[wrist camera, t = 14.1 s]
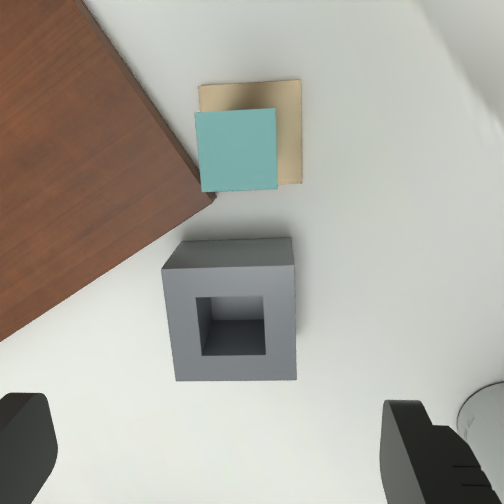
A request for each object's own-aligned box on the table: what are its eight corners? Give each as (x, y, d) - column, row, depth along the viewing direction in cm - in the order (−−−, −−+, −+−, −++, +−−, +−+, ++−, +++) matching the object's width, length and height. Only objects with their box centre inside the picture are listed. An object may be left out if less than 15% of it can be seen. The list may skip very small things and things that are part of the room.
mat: (300, 80, 33) (300, 79, 32) (301, 181, 35) (302, 183, 34) (200, 86, 33) (198, 86, 32) (209, 185, 36) (207, 187, 35)
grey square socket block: (291, 237, 37) (294, 265, 30) (293, 335, 40) (296, 380, 33) (181, 241, 38) (160, 269, 31) (192, 337, 41) (175, 381, 34)
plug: (275, 109, 32) (274, 108, 20) (277, 160, 34) (277, 189, 21) (225, 112, 33) (194, 112, 20) (229, 163, 34) (201, 192, 22)
